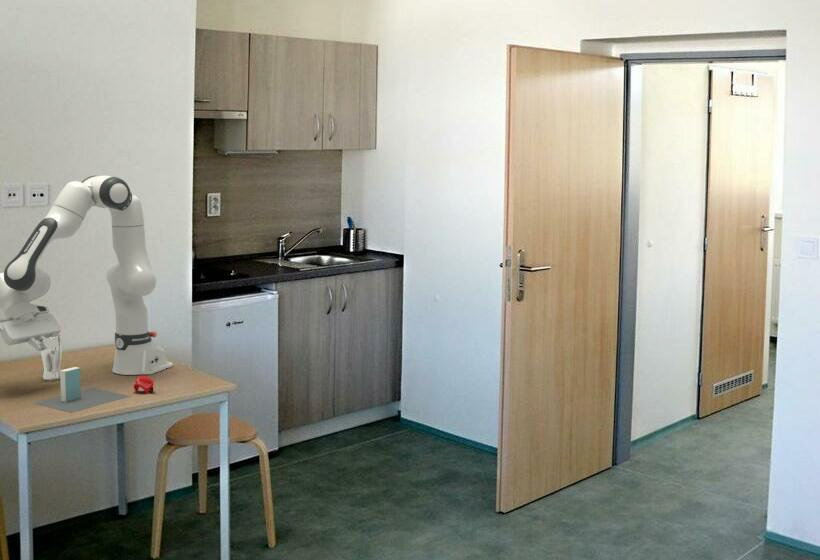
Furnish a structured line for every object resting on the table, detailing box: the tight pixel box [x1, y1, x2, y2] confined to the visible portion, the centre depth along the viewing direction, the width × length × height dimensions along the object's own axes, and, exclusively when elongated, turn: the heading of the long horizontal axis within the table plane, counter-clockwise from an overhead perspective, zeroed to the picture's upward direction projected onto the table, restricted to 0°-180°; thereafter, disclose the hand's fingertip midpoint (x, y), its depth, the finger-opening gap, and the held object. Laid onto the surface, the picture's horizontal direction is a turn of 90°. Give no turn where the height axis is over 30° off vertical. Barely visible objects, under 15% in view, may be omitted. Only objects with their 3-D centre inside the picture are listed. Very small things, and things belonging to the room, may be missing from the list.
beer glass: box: [40, 334, 63, 381], centre depth 357 cm, size 7×7×15 cm
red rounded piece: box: [133, 375, 154, 394], centre depth 341 cm, size 8×6×6 cm
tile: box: [59, 366, 82, 402], centre depth 329 cm, size 6×2×10 cm, turn 148°
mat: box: [33, 387, 131, 414], centre depth 330 cm, size 24×18×1 cm
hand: (42, 349), depth 334 cm, fingers closed
